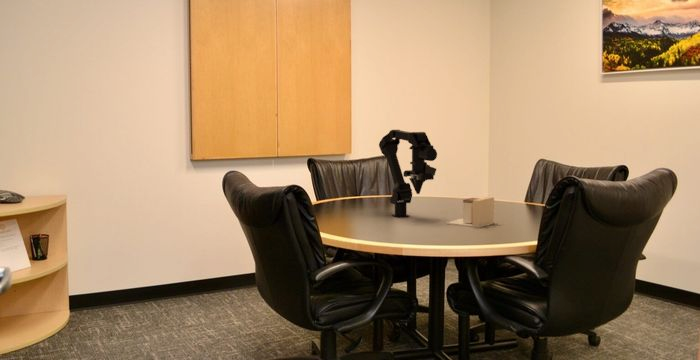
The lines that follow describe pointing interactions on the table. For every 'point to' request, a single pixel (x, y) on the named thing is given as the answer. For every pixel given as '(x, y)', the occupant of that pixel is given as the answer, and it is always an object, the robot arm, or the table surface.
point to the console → (479, 213)
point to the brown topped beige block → (468, 210)
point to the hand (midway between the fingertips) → (418, 193)
